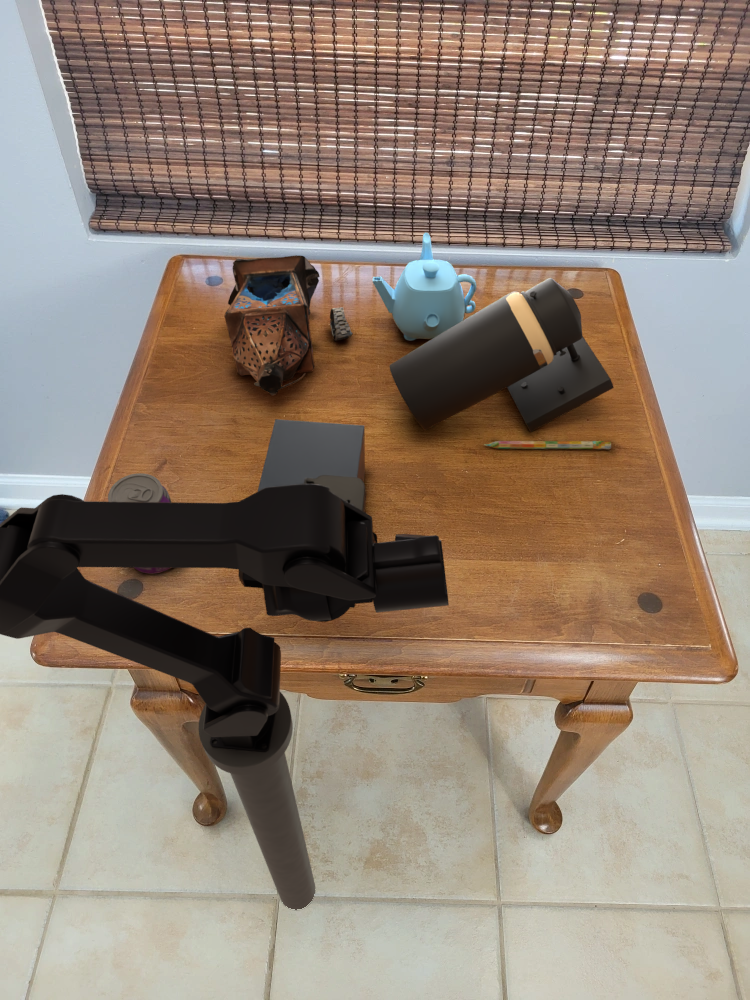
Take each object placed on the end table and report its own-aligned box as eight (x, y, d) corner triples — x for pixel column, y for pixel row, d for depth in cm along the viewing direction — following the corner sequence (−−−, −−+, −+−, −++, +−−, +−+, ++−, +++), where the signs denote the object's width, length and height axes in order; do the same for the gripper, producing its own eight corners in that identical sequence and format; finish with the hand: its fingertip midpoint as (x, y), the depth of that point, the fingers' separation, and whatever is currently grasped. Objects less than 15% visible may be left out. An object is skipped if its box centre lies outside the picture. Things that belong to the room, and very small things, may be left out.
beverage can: (192, 533, 99) (173, 472, 90) (177, 579, 95) (157, 520, 85) (138, 528, 100) (114, 467, 90) (121, 574, 95) (95, 515, 86)
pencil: (483, 450, 109) (610, 451, 109) (484, 445, 108) (612, 445, 108) (482, 444, 109) (608, 444, 109) (483, 438, 109) (610, 439, 109)
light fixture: (379, 344, 109) (544, 247, 103) (428, 413, 122) (577, 330, 116) (403, 407, 101) (584, 305, 95) (453, 473, 114) (614, 387, 108)
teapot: (363, 321, 127) (362, 261, 118) (422, 287, 133) (426, 228, 124) (428, 367, 120) (433, 307, 111) (488, 330, 126) (497, 270, 117)
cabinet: (354, 554, 97) (352, 507, 90) (263, 547, 98) (255, 500, 90) (364, 474, 106) (364, 425, 98) (281, 468, 106) (275, 418, 99)
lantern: (273, 343, 133) (274, 443, 116) (199, 284, 123) (189, 384, 106) (342, 285, 126) (354, 383, 109) (270, 218, 116) (271, 313, 99)
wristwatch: (330, 343, 125) (336, 338, 121) (327, 311, 125) (333, 305, 120) (349, 342, 126) (355, 337, 121) (346, 310, 126) (352, 304, 121)
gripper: (442, 493, 66) (438, 479, 81) (227, 476, 67) (264, 466, 82) (432, 619, 67) (430, 582, 82) (221, 601, 68) (258, 568, 83)
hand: (345, 547), depth 83 cm, fingers closed
